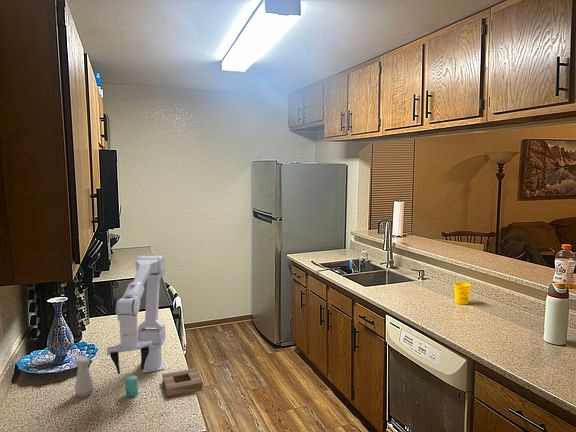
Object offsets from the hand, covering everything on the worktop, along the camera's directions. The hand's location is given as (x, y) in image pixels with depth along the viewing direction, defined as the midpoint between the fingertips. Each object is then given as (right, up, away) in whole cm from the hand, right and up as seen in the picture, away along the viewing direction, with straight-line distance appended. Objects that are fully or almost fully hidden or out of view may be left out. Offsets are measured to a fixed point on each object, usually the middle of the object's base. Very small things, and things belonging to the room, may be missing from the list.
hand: (130, 370), depth 152 cm
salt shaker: (-17, -9, +2) cm, 19 cm away
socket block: (+16, -8, +7) cm, 19 cm away
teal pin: (0, -9, +1) cm, 9 cm away
